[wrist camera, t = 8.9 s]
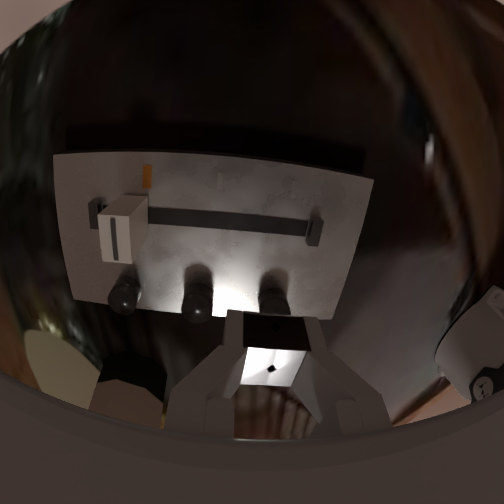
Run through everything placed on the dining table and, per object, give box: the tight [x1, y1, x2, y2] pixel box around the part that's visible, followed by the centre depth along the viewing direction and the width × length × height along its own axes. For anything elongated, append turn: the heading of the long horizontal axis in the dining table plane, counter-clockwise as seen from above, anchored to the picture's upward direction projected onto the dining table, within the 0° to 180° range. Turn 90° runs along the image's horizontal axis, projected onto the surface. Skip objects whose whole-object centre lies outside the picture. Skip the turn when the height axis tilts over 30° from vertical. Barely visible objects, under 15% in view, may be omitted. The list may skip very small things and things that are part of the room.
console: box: [53, 148, 374, 323], centre depth 20 cm, size 24×13×4 cm, turn 83°
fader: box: [98, 195, 148, 264], centre depth 16 cm, size 2×3×4 cm, turn 172°
